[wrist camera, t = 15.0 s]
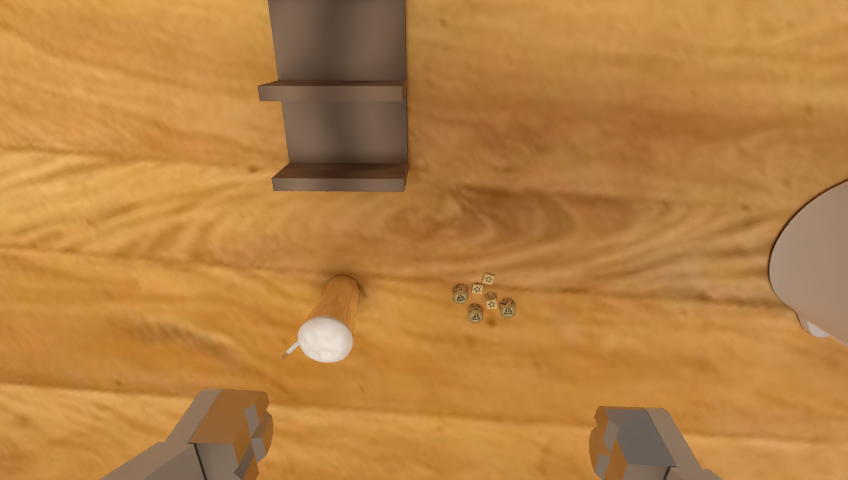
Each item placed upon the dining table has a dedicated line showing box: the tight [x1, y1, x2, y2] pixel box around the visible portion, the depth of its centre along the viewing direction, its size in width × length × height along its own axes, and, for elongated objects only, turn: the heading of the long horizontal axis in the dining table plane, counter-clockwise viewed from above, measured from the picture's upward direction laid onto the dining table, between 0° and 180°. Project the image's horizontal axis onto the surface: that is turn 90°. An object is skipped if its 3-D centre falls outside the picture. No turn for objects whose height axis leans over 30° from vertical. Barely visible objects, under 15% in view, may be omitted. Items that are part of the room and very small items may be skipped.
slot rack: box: [258, 0, 408, 192], centre depth 31 cm, size 10×21×6 cm, turn 0°
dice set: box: [453, 273, 516, 323], centre depth 43 cm, size 5×5×2 cm
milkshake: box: [281, 275, 360, 362], centre depth 39 cm, size 5×5×10 cm
